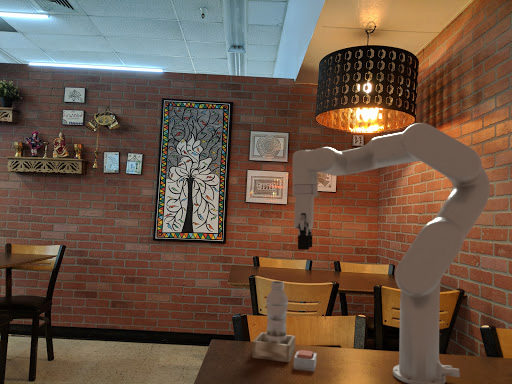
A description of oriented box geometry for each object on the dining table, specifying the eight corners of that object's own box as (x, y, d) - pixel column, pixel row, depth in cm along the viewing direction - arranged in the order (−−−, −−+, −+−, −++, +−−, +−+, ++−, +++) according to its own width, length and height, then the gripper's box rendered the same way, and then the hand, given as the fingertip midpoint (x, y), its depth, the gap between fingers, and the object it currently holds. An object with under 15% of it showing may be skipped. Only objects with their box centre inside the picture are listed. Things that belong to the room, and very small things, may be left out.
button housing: (316, 364, 111) (316, 353, 111) (314, 371, 106) (314, 360, 106) (296, 361, 112) (297, 350, 112) (293, 369, 107) (293, 357, 107)
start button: (312, 363, 110) (313, 351, 110) (311, 368, 107) (311, 355, 107) (299, 361, 111) (299, 349, 111) (297, 366, 108) (297, 354, 108)
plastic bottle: (288, 355, 115) (290, 284, 116) (264, 354, 115) (266, 283, 116) (286, 347, 122) (288, 280, 123) (264, 346, 122) (266, 280, 123)
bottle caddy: (294, 351, 121) (295, 335, 121) (289, 362, 112) (289, 345, 112) (260, 346, 124) (261, 332, 124) (252, 357, 114) (252, 341, 115)
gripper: (296, 193, 131) (296, 246, 130) (288, 189, 114) (288, 250, 113) (319, 193, 129) (320, 246, 128) (315, 189, 112) (315, 250, 111)
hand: (305, 248), depth 121 cm, fingers open, 9 cm apart
